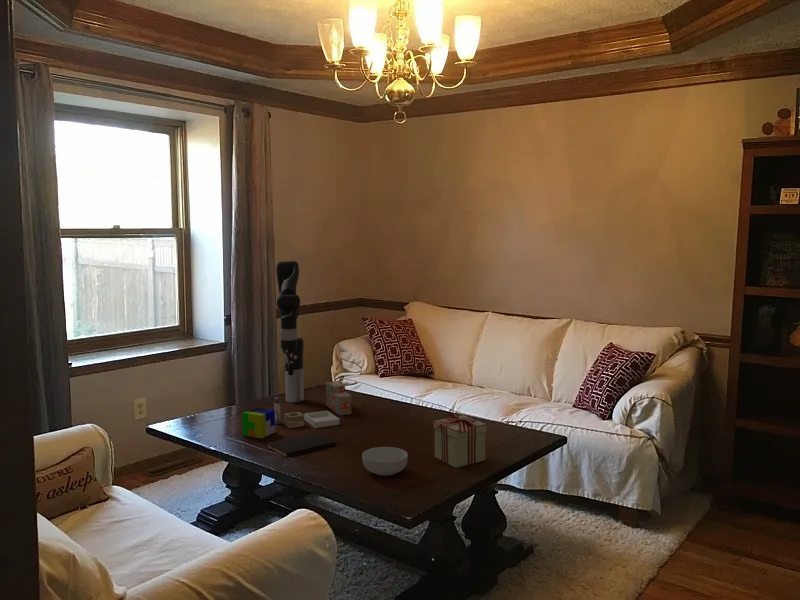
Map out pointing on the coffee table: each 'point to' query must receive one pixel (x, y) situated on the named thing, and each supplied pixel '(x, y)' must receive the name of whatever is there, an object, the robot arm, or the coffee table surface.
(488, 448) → the coffee table surface
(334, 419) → the tray
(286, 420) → the maple bore block
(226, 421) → the coffee table surface
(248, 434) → the puzzle toy
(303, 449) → the hardcover book
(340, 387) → the stack of blocks
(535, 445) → the coffee table surface
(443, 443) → the gift box
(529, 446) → the coffee table surface
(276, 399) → the cylinder
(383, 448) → the cereal bowl
